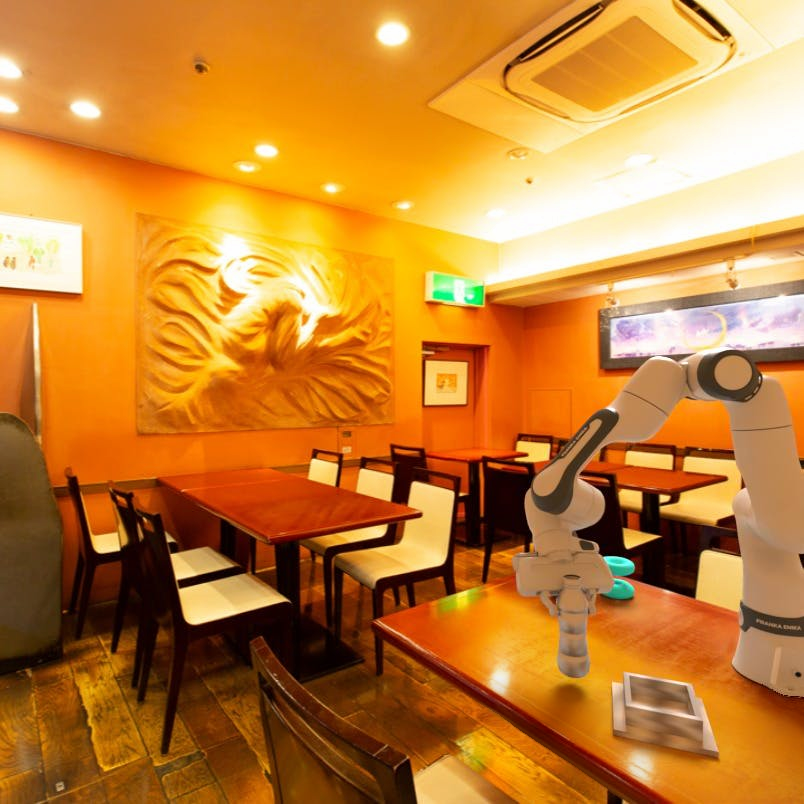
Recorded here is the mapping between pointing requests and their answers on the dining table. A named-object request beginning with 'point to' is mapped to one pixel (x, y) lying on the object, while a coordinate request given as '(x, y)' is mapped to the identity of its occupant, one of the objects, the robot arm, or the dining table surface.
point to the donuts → (620, 569)
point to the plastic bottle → (572, 628)
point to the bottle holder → (661, 714)
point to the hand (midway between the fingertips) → (573, 614)
